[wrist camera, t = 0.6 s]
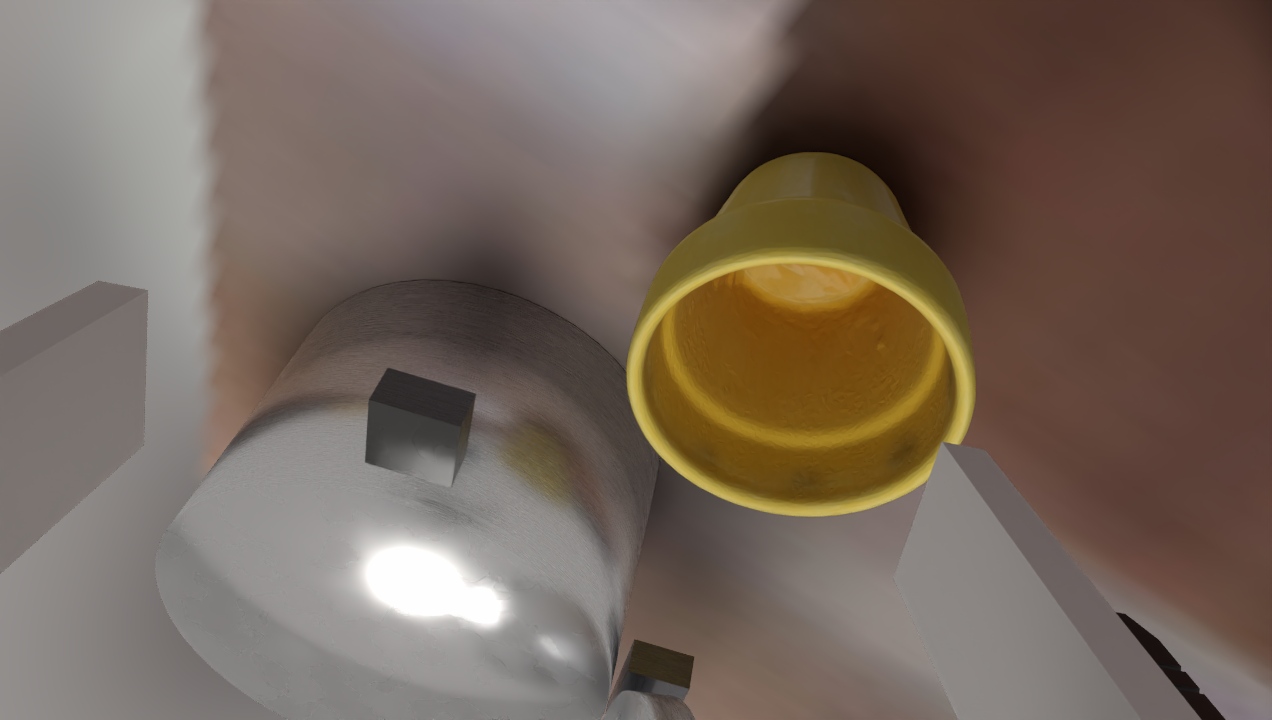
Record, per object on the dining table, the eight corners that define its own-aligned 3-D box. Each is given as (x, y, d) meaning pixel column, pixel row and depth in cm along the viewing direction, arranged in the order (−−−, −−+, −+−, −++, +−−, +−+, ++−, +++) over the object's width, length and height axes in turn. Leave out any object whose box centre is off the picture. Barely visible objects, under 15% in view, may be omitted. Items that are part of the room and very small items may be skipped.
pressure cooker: (293, 168, 37) (114, 355, 28) (789, 316, 38) (768, 549, 29) (298, 532, 53) (183, 728, 44) (649, 635, 53) (606, 851, 44)
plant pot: (619, 245, 37) (561, 410, 30) (787, 38, 31) (765, 182, 23) (822, 379, 40) (815, 563, 32) (1015, 213, 33) (1062, 394, 26)
